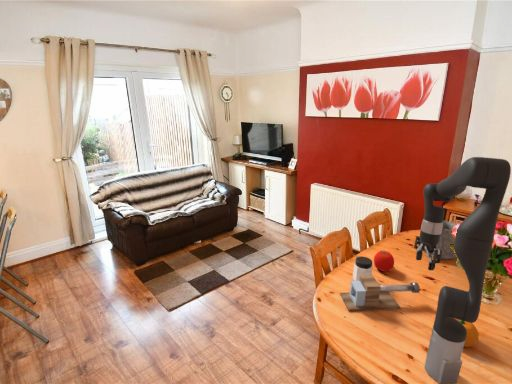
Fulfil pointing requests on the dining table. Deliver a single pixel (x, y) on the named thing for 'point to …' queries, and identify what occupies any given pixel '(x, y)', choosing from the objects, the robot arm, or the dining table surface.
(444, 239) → the vessel
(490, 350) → the dining table surface
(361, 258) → the jar
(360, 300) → the block
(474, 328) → the fruit
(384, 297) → the bearing block
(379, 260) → the tomato
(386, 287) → the shaft
